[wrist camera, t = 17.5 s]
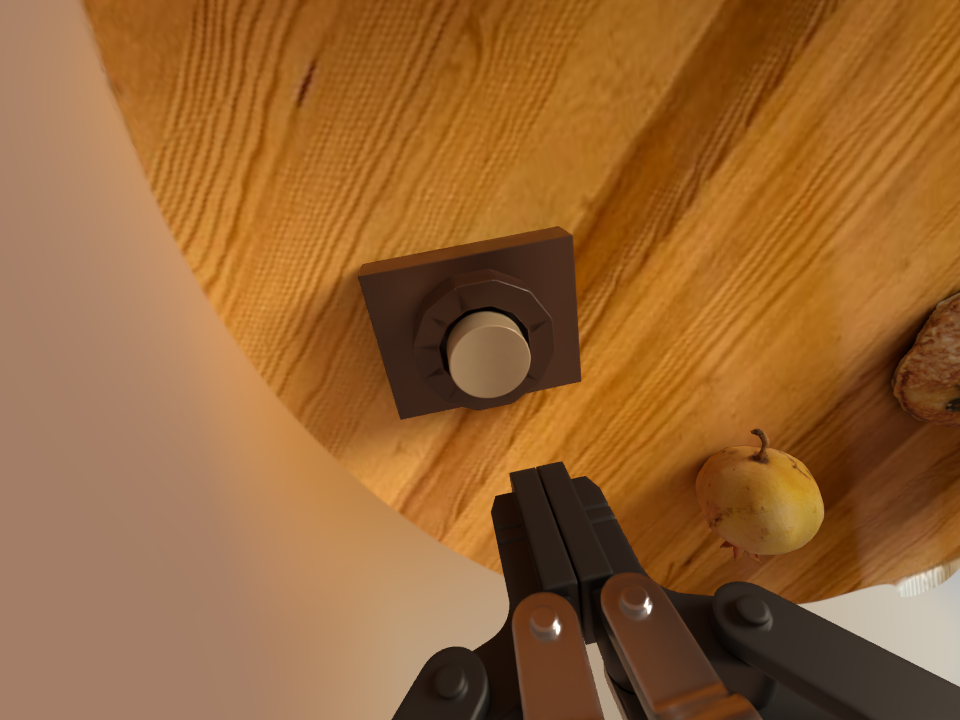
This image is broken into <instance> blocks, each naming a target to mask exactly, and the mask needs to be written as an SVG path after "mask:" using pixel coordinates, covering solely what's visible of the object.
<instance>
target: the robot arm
mask: <svg viewBox="0 0 960 720" xmlns="http://www.w3.org/2000/svg"><path fill="white" fill-rule="evenodd" d="M509 474H510V481H511V487H512V492H511V493H507V494H502V495H498V496H495V499H494V503H493V507H492V510H491V515H492V520H493V525H494V529H495V534H496V539H497V544H498V549H499V554H500V559H501V563H502V568H503V573H504V578H505V582H506V587H507V592H508V597H509V603H510V605H509V613H508V617H507V620H506V622H505V624H504V626H503V627H502V629H501V630H500V631H499V632H498V633H497V634H496V635H495V636H494V637H493V638H492V639H490V640H489V641H488V642H486V643H484V644H483V645H481V646H480V647H478V648H477V649H475V650H474V651H471V650H469V649H467V648H464V647H449V648H445V649H443V650H441V651H439V652H437V653H436V654H434V655H433V656H432V657H431V658H430V659H429V660H428V661H427V662H426V664H425V665H424V667H423V668H422V670H421V671H420V673H419V675H418V676H417V678H416V680H415V681H414V683H413V685H412V686H411V688H410V690H409V691H408V693H407V695H406V696H405V698H404V700H403V701H402V703H401V705H400V706H399V708H398V710H397V711H396V713H395V715H394V716H393V718H392V720H605V719H604V716H603V712H602V708H601V705H600V701H599V697H598V693H597V690H596V686H595V682H594V678H593V674H592V670H591V666H590V663H589V659H588V655H587V651H586V647H585V644H586V645H587V644H591V643H596V642H597V645H598V647H599V650H600V653H601V656H602V659H603V661H604V673H605V678H606V681H607V684H608V686H609V688H610V691H611V693H612V695H613V698H614V700H615V702H616V704H617V707H618V709H619V711H620V714H621V715H622V718H623V720H960V687H959V686H957V685H955V684H953V683H951V682H949V681H947V680H945V679H943V678H941V677H939V676H937V675H935V674H933V673H931V672H929V671H927V670H925V669H923V668H921V667H919V666H917V665H915V664H913V663H911V662H909V661H907V660H905V659H903V658H901V657H899V656H897V655H895V654H893V653H891V652H889V651H887V650H885V649H883V648H881V647H879V646H877V645H876V644H874V643H872V642H869V641H867V640H866V639H864V638H862V637H860V636H857V635H855V634H854V633H852V632H850V631H848V630H846V629H844V628H842V627H840V626H838V625H836V624H834V623H832V622H830V621H828V620H826V619H824V618H822V617H820V616H818V615H816V614H814V613H812V612H810V611H808V610H806V609H804V608H802V607H800V606H798V605H796V604H794V603H792V602H790V601H788V600H786V599H784V598H782V597H780V596H778V595H776V594H774V593H772V592H770V591H768V590H766V589H764V588H762V587H760V586H758V585H755V584H752V583H748V582H739V581H736V582H729V583H726V584H724V585H722V586H721V587H719V588H718V589H717V591H716V592H715V594H714V596H706V595H695V594H685V593H678V592H675V591H671V590H669V589H666V588H664V587H662V586H661V585H659V584H657V583H656V582H655V581H653V580H652V579H651V578H650V577H649V576H648V575H647V574H646V572H645V571H644V570H643V568H642V567H641V565H640V563H639V561H638V559H637V557H636V555H635V553H634V551H633V550H632V548H631V546H630V544H629V542H628V540H627V538H626V536H625V534H624V533H623V531H622V529H621V527H620V525H619V523H618V521H617V519H615V516H614V514H613V512H612V510H611V508H610V506H608V502H607V501H606V499H605V497H604V495H603V493H602V491H601V489H600V488H599V487H598V486H597V485H596V484H595V483H593V482H592V481H591V480H590V479H588V478H587V477H586V476H583V477H578V478H574V479H570V476H569V474H568V472H567V470H566V468H565V466H564V464H563V462H562V461H561V462H556V463H552V464H547V465H543V466H538V467H536V469H535V467H534V468H530V469H525V470H520V471H516V472H511V473H509ZM583 638H584V640H583ZM584 641H585V644H584Z"/></svg>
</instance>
